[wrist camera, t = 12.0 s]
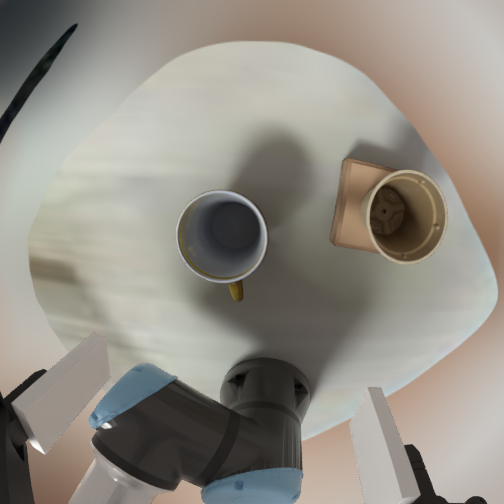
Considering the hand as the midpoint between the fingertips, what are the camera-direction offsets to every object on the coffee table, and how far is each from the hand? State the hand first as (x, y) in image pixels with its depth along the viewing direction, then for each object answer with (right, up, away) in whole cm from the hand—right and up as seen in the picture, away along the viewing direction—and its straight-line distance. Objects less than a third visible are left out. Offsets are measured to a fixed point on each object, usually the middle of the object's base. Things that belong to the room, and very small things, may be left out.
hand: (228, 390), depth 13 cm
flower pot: (+17, +12, +21) cm, 30 cm away
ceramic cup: (-1, +9, +28) cm, 29 cm away
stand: (+18, +13, +25) cm, 33 cm away
